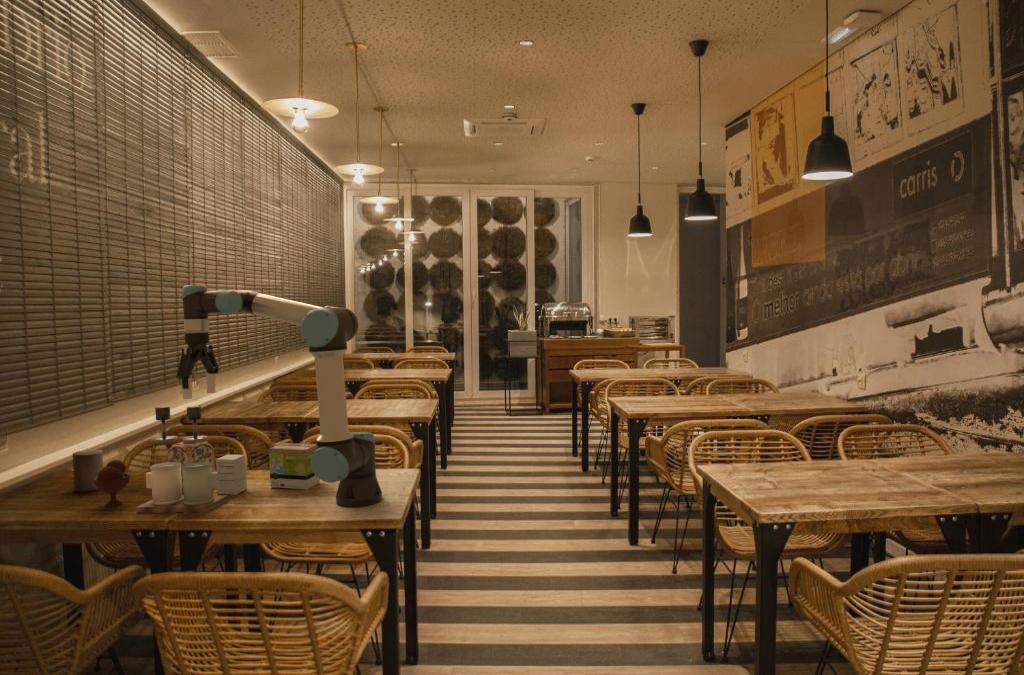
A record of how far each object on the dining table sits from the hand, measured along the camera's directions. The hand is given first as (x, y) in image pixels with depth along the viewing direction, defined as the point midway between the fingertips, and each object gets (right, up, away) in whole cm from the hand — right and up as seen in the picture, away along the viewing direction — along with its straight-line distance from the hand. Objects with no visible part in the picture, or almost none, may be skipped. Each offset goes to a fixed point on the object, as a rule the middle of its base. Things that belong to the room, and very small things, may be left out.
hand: (199, 395), depth 242 cm
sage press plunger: (-1, -15, -2) cm, 15 cm away
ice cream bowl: (-31, -37, +5) cm, 49 cm away
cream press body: (-11, -35, +1) cm, 37 cm away
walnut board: (-5, -37, 0) cm, 37 cm away
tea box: (+25, -35, +23) cm, 49 cm away
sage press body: (0, -35, -1) cm, 35 cm away
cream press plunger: (-12, -15, 0) cm, 19 cm away
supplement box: (+4, -36, +17) cm, 40 cm away
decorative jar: (-15, -36, +28) cm, 48 cm away
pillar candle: (-52, -37, +27) cm, 70 cm away
